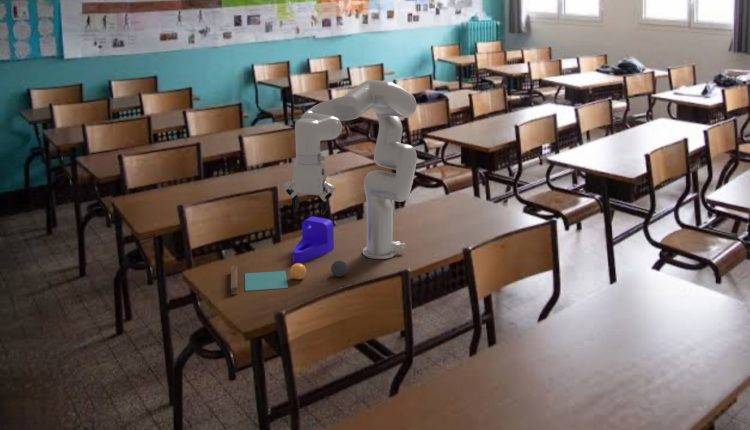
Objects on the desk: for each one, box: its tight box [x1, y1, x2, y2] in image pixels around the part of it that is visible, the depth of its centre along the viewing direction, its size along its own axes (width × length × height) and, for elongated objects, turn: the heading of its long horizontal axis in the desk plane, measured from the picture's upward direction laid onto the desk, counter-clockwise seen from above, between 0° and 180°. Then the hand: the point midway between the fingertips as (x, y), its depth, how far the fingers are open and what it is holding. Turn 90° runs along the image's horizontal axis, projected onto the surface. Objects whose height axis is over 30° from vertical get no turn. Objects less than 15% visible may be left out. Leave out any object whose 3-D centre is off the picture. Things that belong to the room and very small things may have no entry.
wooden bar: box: [230, 265, 239, 296], centre depth 243 cm, size 2×18×2 cm, turn 10°
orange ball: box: [289, 263, 307, 280], centre depth 246 cm, size 6×6×6 cm
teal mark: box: [244, 270, 289, 292], centre depth 245 cm, size 14×14×1 cm
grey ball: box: [330, 260, 348, 278], centre depth 249 cm, size 6×6×6 cm
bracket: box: [292, 216, 335, 264], centre depth 266 cm, size 18×11×12 cm, turn 153°
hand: (310, 210), depth 231 cm, fingers open, 9 cm apart
